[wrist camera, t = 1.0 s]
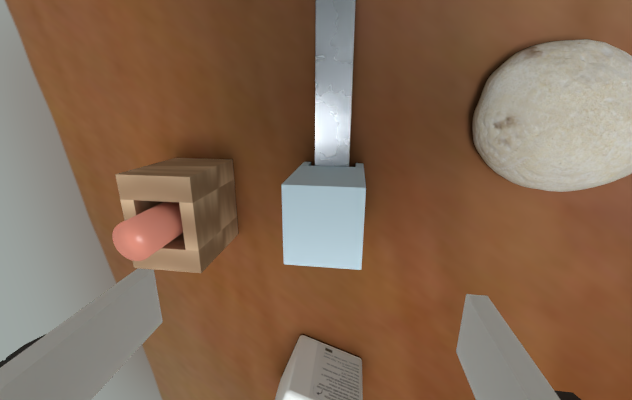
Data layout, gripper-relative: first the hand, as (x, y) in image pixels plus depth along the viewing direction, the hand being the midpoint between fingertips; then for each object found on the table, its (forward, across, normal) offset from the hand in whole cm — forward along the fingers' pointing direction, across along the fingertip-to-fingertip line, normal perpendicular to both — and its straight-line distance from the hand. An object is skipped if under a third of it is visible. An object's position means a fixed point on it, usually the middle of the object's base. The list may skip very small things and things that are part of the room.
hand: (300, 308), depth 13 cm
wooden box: (+18, -13, -1) cm, 22 cm away
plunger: (+15, -13, -1) cm, 20 cm away
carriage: (+18, 0, 0) cm, 18 cm away
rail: (+18, 0, +7) cm, 19 cm away
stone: (+18, +18, +7) cm, 26 cm away
